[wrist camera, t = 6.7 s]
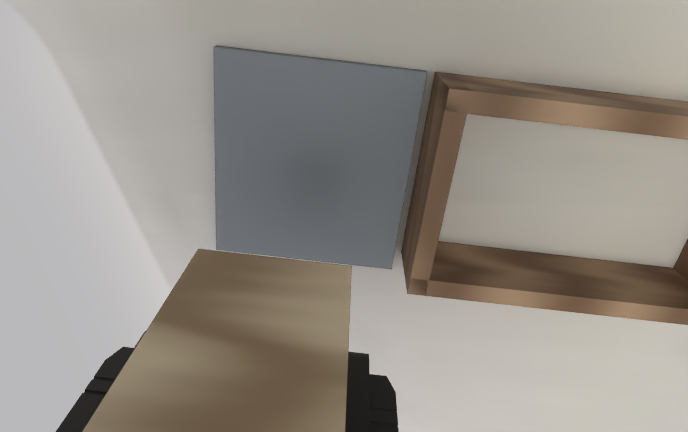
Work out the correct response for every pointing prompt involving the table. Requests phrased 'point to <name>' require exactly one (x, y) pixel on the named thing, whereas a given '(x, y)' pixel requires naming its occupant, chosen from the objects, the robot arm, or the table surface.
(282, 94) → the slate mat
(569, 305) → the walnut surround
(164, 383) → the oak block
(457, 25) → the table surface
